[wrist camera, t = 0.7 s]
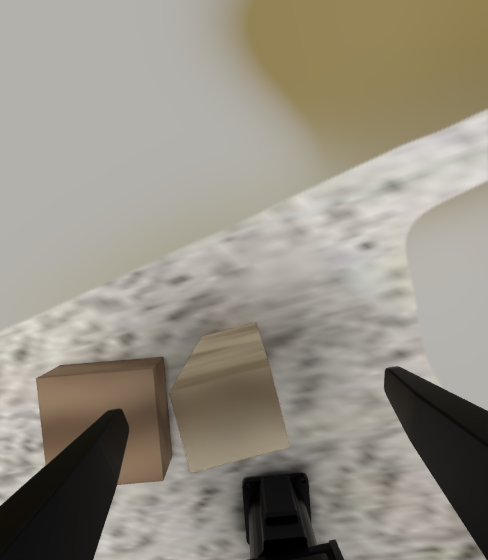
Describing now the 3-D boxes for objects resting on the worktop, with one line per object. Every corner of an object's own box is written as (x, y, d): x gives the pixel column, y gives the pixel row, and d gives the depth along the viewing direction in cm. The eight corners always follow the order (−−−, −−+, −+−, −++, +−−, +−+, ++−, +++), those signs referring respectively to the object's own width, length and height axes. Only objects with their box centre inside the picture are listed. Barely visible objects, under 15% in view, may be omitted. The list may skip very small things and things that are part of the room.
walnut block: (173, 453, 27) (163, 480, 23) (73, 461, 27) (48, 490, 23) (164, 355, 26) (152, 368, 23) (63, 363, 26) (36, 378, 23)
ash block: (267, 366, 26) (290, 446, 14) (213, 380, 26) (190, 472, 14) (255, 322, 26) (269, 366, 14) (201, 336, 26) (168, 392, 14)
